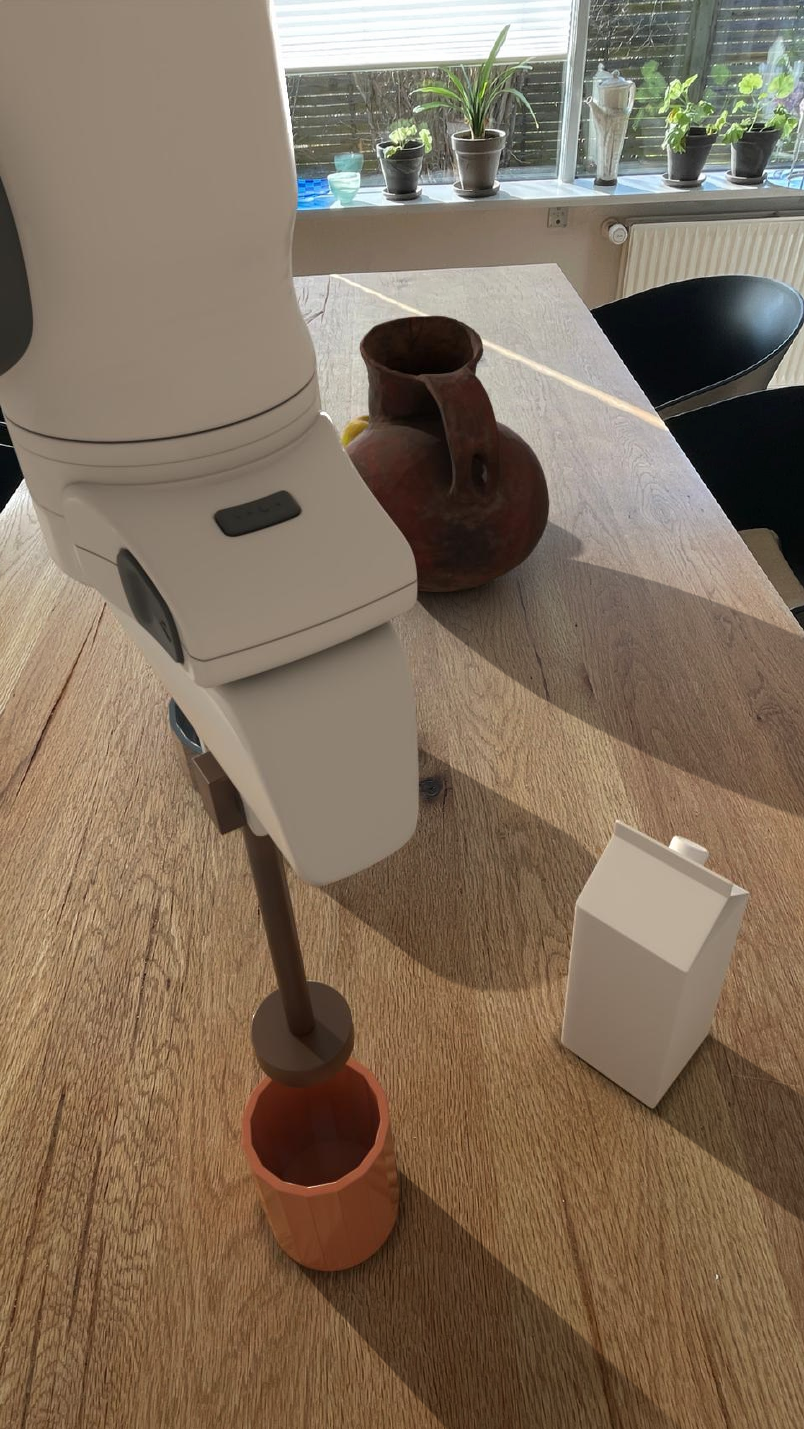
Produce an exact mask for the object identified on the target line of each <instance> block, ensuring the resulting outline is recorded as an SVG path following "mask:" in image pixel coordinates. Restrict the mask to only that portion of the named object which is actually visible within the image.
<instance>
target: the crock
mask: <svg viewBox="0 0 804 1429" xmlns="http://www.w3.org/2000/svg"><path fill="white" fill-rule="evenodd" d="M390 1115H391V1114H390V1110H389V1103H388V1098H387V1093H386V1090H384V1088H383V1086H382V1085H381V1083H380V1081H379V1080H378V1079H377V1076H376V1075H375V1074H374V1073H373V1071H372V1070H371V1069H369V1067H366V1066H365V1065H363V1064H362V1063H360V1062H359V1061H357V1060H356V1059H354V1058H353V1057H351V1056H350V1058H349V1059H348V1061H347V1063H346V1064H345V1065H344V1067H343V1068H342V1069H341V1070H340V1071H339V1072H338V1073H337V1074H336V1075H335V1076H333V1077H332V1078H330V1079H329V1080H327V1081H325V1082H323V1083H321V1084H318V1085H315V1086H311V1087H304V1088H295V1087H288V1086H285V1085H282V1084H279V1083H277V1082H275V1081H274V1080H272V1079H271V1078H269V1077H268V1076H267V1075H266V1074H265V1076H264V1077H263V1078H262V1079H261V1081H260V1082H259V1083H258V1084H257V1085H256V1086H255V1087H254V1088H253V1090H252V1091H251V1093H250V1095H249V1098H248V1100H247V1103H246V1106H245V1108H244V1111H243V1114H242V1117H241V1144H242V1145H241V1146H242V1150H243V1154H244V1156H245V1159H246V1162H247V1165H248V1168H249V1171H250V1173H251V1177H252V1180H253V1182H254V1185H255V1188H256V1191H257V1194H258V1197H259V1200H260V1202H261V1205H262V1209H263V1210H264V1214H265V1217H266V1220H267V1223H268V1225H269V1227H270V1229H271V1232H272V1233H273V1236H274V1238H275V1240H276V1242H277V1243H278V1246H280V1248H281V1249H282V1251H283V1252H284V1253H285V1254H286V1255H287V1256H289V1258H291V1259H292V1260H293V1261H294V1262H296V1263H298V1264H299V1265H301V1266H303V1267H305V1268H307V1269H310V1270H311V1269H312V1270H315V1271H319V1272H338V1271H343V1270H344V1271H345V1270H347V1269H350V1268H353V1267H355V1266H357V1265H360V1264H362V1263H364V1262H365V1261H366V1260H368V1259H369V1258H370V1257H372V1256H373V1255H375V1253H377V1251H378V1250H380V1248H381V1247H382V1246H383V1245H384V1243H385V1242H386V1241H387V1240H388V1237H389V1236H390V1234H391V1232H392V1231H393V1228H394V1226H395V1223H396V1221H397V1217H398V1212H399V1205H400V1187H399V1180H398V1171H397V1164H396V1163H397V1162H396V1156H395V1155H396V1154H395V1147H394V1139H393V1132H392V1130H393V1129H392V1122H391V1116H390Z"/></svg>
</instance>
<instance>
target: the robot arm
mask: <svg viewBox="0 0 804 1429" xmlns="http://www.w3.org/2000/svg"><path fill="white" fill-rule="evenodd" d="M278 30H279V29H278V24H277V18H276V12H275V7H274V1H273V0H0V408H1V414H2V416H3V418H4V421H5V424H6V427H7V431H8V434H9V437H10V439H11V442H12V445H13V449H14V452H15V455H16V457H17V460H18V463H19V467H20V470H21V472H22V475H23V479H24V482H25V484H26V488H27V490H28V493H29V496H30V500H31V502H32V505H33V508H34V512H35V514H36V518H37V520H38V524H39V527H40V530H41V533H42V536H43V540H44V542H45V545H46V548H47V550H48V554H49V556H50V558H51V560H52V562H53V563H54V564H55V566H56V567H57V568H58V569H59V570H60V571H62V573H64V574H65V575H66V576H68V577H69V578H71V579H72V580H74V581H76V582H78V583H80V584H82V585H84V586H87V587H90V588H92V589H95V590H96V591H97V592H98V593H99V594H100V595H101V596H102V598H103V600H104V602H105V603H106V605H107V607H108V608H109V610H110V611H111V612H112V614H113V616H114V617H115V619H117V621H118V623H119V624H120V625H121V626H122V628H123V630H124V631H125V632H126V634H127V636H129V638H130V639H131V641H132V642H133V643H134V645H135V646H136V648H137V649H138V651H139V652H140V653H141V655H142V657H143V658H144V659H145V661H146V662H147V663H148V665H149V666H150V668H151V670H152V671H153V672H154V673H155V675H156V676H157V678H158V679H159V681H160V682H161V684H163V686H164V687H165V689H166V690H167V692H168V693H169V695H170V696H171V697H173V699H174V700H175V702H176V703H177V705H178V706H179V707H180V709H181V710H182V712H183V713H184V715H185V716H186V717H187V719H188V720H189V722H190V723H191V724H192V726H193V727H194V729H195V731H196V733H197V735H198V737H199V739H200V743H201V747H202V751H203V753H206V752H208V751H211V753H212V754H213V756H214V757H215V759H216V760H217V761H218V763H219V764H220V766H221V767H222V769H223V770H224V771H225V773H226V774H227V776H228V777H229V778H230V780H231V781H232V783H233V784H234V785H233V788H234V792H235V797H236V800H237V803H238V804H237V805H238V809H239V812H240V813H241V815H242V816H243V818H244V819H245V821H246V822H247V824H248V825H249V827H250V828H251V830H252V832H253V833H254V834H255V835H257V836H265V835H267V834H269V835H270V837H271V838H272V840H273V841H274V842H275V844H276V845H277V847H278V848H279V849H280V851H281V852H282V856H283V857H284V858H285V860H286V861H287V863H288V864H289V866H290V867H291V869H292V870H293V872H294V873H295V875H296V876H297V877H298V879H299V880H300V881H301V882H302V883H304V884H305V885H306V886H309V887H313V888H317V887H318V888H319V887H323V886H327V885H330V884H333V883H336V882H339V881H341V880H344V879H347V878H348V877H351V876H353V875H355V874H358V873H360V872H361V871H364V870H366V869H368V868H370V867H372V866H374V865H376V864H377V863H379V862H381V861H382V860H385V859H386V858H388V857H390V856H391V855H393V854H394V853H396V852H397V851H399V850H400V849H401V848H402V847H403V846H405V845H406V844H407V843H408V842H410V840H411V838H412V837H413V836H414V834H415V831H416V828H417V825H418V818H419V804H420V802H419V800H420V798H419V797H420V796H419V795H420V776H419V775H420V773H419V767H420V766H419V741H418V740H419V739H418V737H419V736H418V725H417V724H418V723H417V721H418V720H417V705H416V704H417V703H416V695H415V687H414V680H413V675H412V669H411V666H410V661H409V659H408V658H409V657H408V655H407V652H406V649H405V646H404V643H403V641H402V639H401V637H400V633H399V632H398V630H397V628H396V627H395V624H394V622H393V621H392V620H394V619H395V618H397V617H399V616H401V615H403V614H406V613H407V612H410V611H411V610H412V609H413V608H414V607H416V606H415V605H416V604H417V599H418V590H417V571H416V564H415V559H414V555H413V552H412V549H411V547H410V545H409V543H408V542H407V540H406V539H405V537H404V536H403V534H402V533H401V531H400V530H399V529H398V527H397V526H396V525H395V523H394V522H393V521H392V519H391V518H390V517H389V516H388V514H387V513H386V512H385V510H384V509H383V508H382V506H381V505H380V504H379V502H378V501H377V500H376V498H375V497H374V495H373V494H372V493H371V491H370V490H369V488H368V487H367V485H366V484H365V482H364V481H363V479H362V478H361V476H360V475H359V473H358V471H357V470H356V468H355V466H354V465H353V463H352V461H351V459H350V458H349V456H348V454H347V452H346V450H345V448H344V445H343V443H342V441H341V438H342V437H341V436H340V434H339V430H338V428H337V427H336V424H335V422H334V420H333V419H332V418H331V417H330V415H329V414H328V413H327V412H325V411H323V410H322V409H323V408H322V399H321V390H320V383H319V372H318V365H317V364H318V361H317V354H316V350H315V344H314V340H313V338H312V337H313V336H312V335H311V331H310V329H309V327H308V323H307V322H306V320H305V317H304V315H303V313H302V310H301V307H300V303H299V301H298V298H297V297H298V296H297V293H296V288H295V285H294V275H293V238H294V231H295V230H294V229H295V225H296V219H297V211H298V207H299V206H298V205H299V204H298V203H299V202H298V201H299V188H298V187H299V186H298V174H297V166H296V157H295V149H294V148H295V147H294V141H293V140H294V139H293V132H292V122H291V116H290V114H291V113H290V106H289V98H288V92H287V84H286V77H285V76H286V75H285V69H284V63H283V56H282V50H281V44H280V37H279V31H278Z"/></svg>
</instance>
